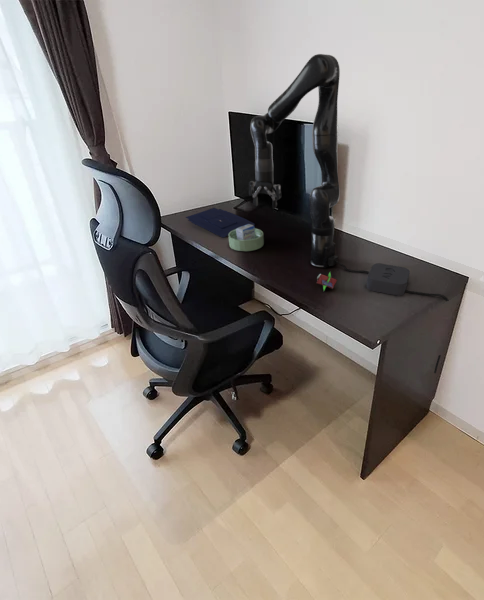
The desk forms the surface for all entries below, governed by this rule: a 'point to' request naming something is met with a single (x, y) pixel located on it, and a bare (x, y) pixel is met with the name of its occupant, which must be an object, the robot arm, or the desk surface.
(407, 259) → the desk surface
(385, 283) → the streaming box
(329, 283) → the geometric puzzle
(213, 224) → the folded navy cloth
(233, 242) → the bowl
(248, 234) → the medicine box
